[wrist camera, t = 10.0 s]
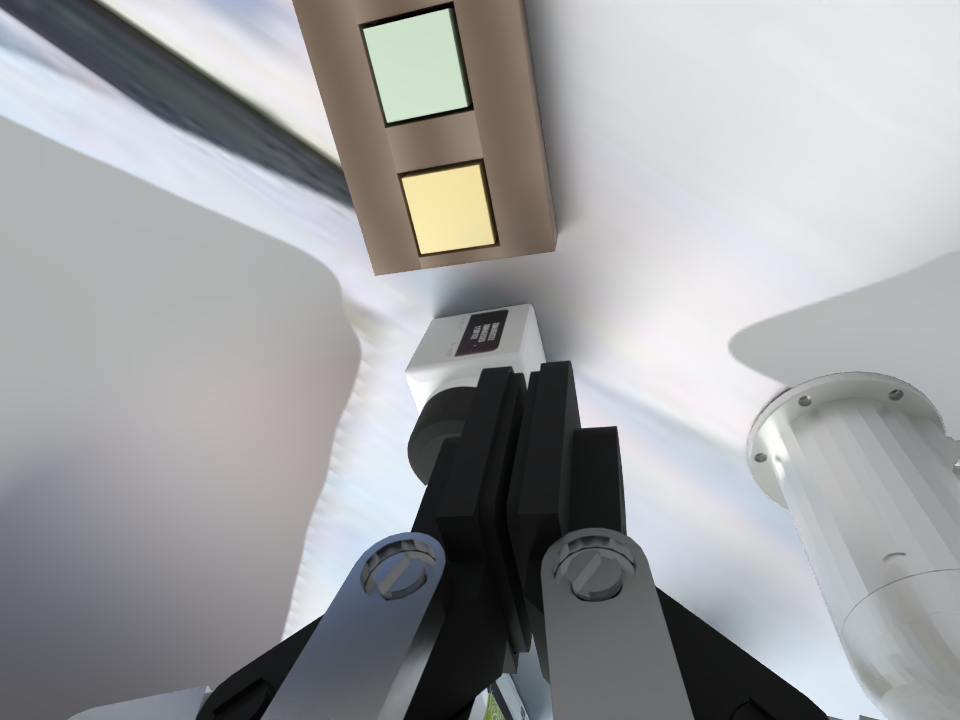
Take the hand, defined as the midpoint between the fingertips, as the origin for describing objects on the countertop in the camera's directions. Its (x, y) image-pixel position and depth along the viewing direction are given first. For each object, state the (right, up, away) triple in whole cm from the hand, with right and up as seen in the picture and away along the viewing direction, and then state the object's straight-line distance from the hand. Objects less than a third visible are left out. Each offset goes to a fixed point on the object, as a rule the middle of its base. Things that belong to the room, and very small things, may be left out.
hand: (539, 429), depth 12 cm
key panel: (-4, +19, +24) cm, 31 cm away
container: (0, +2, +33) cm, 33 cm away
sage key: (-4, +19, +24) cm, 30 cm away
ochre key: (-3, +12, +27) cm, 30 cm away
